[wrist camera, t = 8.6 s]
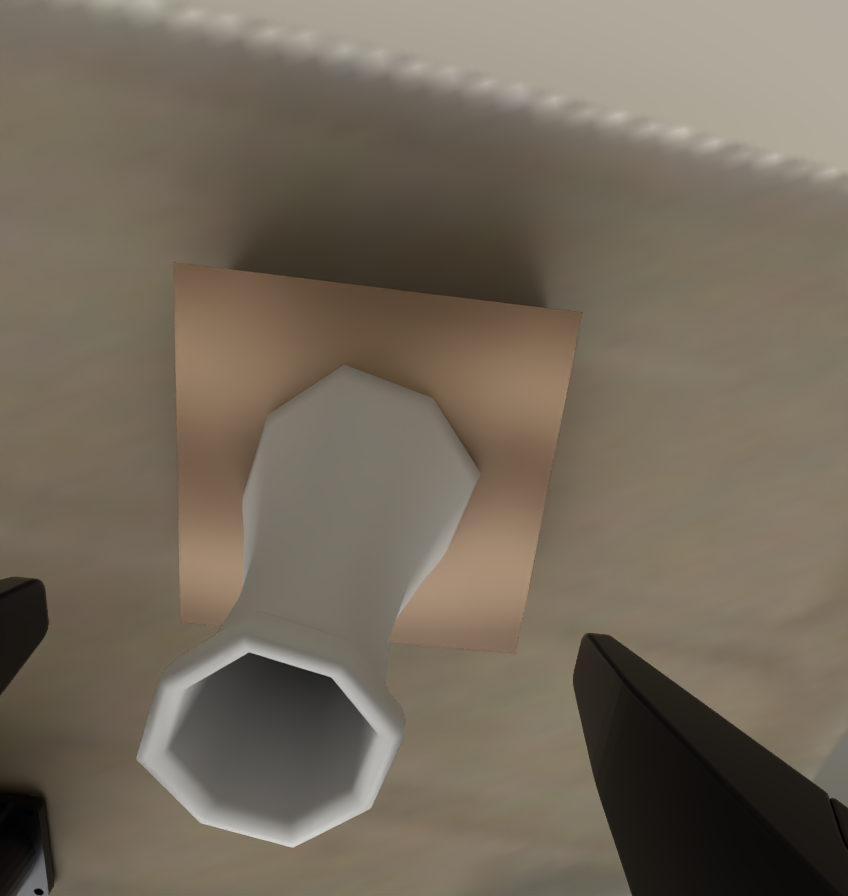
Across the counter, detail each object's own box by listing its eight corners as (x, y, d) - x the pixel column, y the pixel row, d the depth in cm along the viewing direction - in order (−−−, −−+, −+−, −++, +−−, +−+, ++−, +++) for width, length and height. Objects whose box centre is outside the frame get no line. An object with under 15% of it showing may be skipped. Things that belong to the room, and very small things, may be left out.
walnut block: (498, 592, 21) (515, 654, 17) (224, 565, 21) (180, 622, 17) (547, 313, 18) (582, 312, 14) (227, 274, 18) (173, 262, 14)
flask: (519, 466, 16) (681, 713, 6) (381, 618, 17) (331, 1016, 7) (339, 320, 14) (169, 327, 5) (207, 497, 16) (-134, 785, 6)
